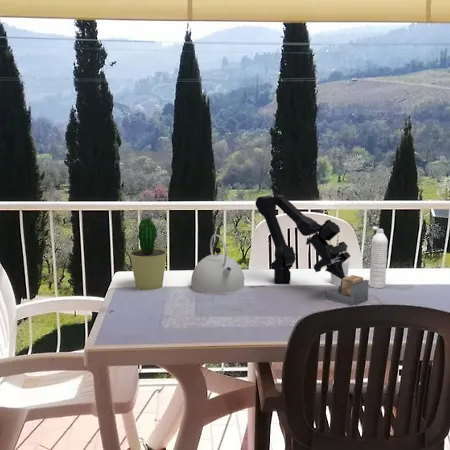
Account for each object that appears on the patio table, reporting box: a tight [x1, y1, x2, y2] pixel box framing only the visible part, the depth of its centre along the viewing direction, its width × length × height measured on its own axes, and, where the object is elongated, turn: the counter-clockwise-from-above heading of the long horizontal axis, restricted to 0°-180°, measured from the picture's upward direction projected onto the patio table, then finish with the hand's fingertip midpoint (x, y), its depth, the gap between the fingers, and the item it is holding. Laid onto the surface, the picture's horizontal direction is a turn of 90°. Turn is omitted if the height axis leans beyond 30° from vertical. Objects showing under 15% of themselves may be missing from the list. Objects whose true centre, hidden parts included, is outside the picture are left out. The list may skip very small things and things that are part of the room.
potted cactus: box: [129, 217, 168, 291], centre depth 232 cm, size 15×15×30 cm
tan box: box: [340, 274, 364, 296], centre depth 216 cm, size 6×7×8 cm
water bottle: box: [369, 226, 389, 289], centre depth 234 cm, size 9×6×25 cm
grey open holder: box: [325, 279, 370, 306], centre depth 218 cm, size 13×10×8 cm
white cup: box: [330, 259, 350, 286], centre depth 240 cm, size 8×8×10 cm
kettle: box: [190, 233, 245, 296], centre depth 232 cm, size 25×23×23 cm
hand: (344, 279), depth 218 cm, fingers closed, pressing on tan box
